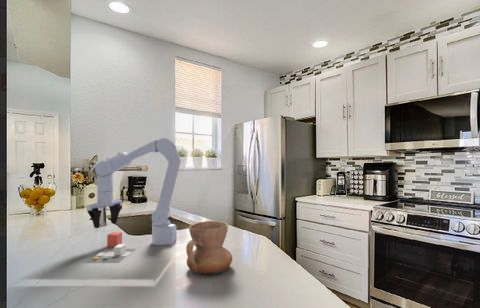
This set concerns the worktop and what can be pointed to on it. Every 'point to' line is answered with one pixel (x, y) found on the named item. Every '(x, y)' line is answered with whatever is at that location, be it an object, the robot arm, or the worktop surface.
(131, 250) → the breaker panel
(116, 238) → the block
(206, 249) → the ceramic jug
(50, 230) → the worktop surface
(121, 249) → the block
